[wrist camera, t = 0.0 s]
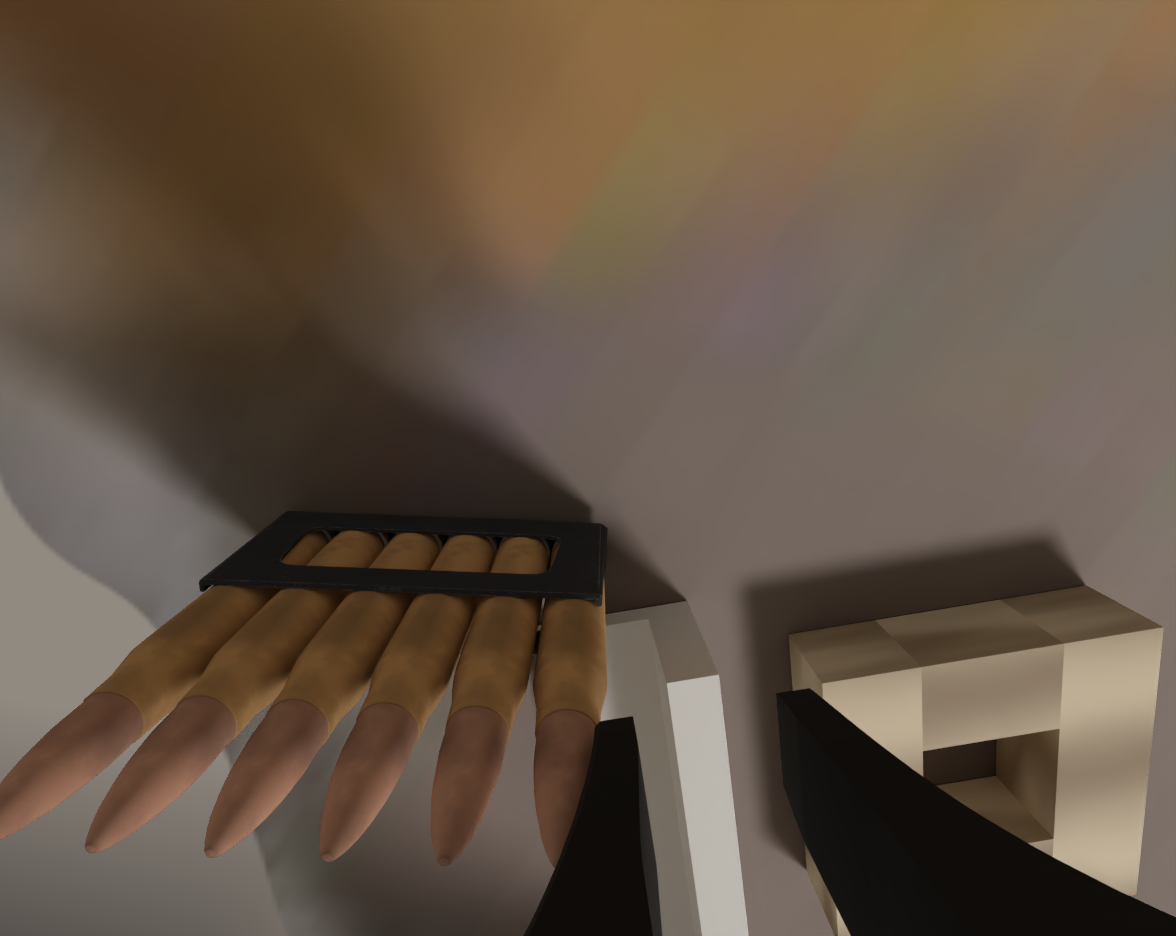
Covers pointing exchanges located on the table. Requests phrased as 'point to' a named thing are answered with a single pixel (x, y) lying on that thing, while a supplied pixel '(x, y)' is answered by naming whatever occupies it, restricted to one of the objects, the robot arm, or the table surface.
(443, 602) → the ammunition clip
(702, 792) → the white rectangular slab
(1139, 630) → the block
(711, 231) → the table surface
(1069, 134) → the table surface
